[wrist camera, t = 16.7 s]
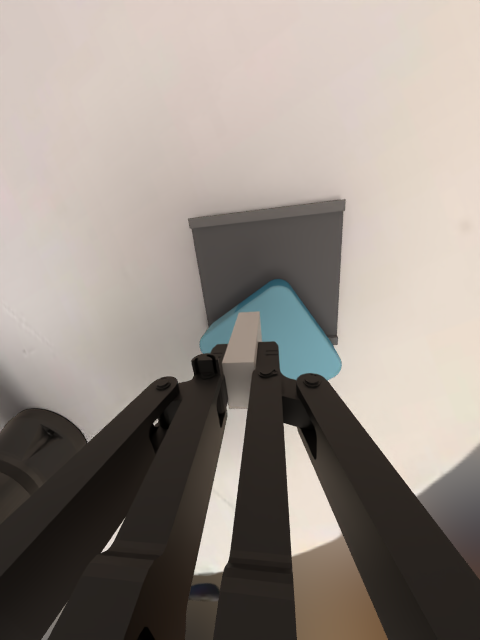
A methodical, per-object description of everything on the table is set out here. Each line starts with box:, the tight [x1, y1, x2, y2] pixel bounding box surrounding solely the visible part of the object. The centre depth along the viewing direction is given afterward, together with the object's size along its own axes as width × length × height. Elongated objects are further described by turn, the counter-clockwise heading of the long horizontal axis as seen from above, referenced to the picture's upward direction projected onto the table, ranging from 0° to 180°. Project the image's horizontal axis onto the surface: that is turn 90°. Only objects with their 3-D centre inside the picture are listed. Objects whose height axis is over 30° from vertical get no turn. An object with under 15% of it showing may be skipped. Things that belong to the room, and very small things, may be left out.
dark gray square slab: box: [188, 199, 346, 345], centre depth 28 cm, size 16×16×2 cm
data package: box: [200, 279, 342, 380], centre depth 28 cm, size 12×4×12 cm
